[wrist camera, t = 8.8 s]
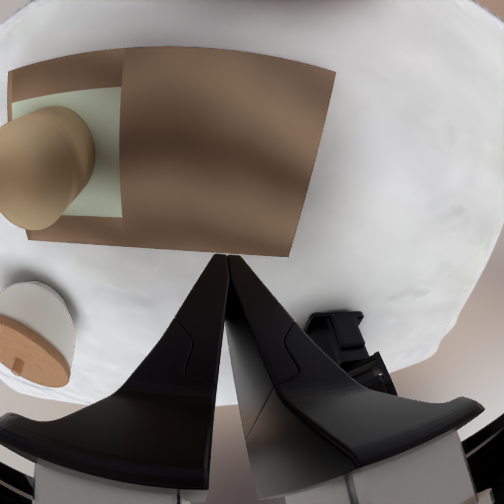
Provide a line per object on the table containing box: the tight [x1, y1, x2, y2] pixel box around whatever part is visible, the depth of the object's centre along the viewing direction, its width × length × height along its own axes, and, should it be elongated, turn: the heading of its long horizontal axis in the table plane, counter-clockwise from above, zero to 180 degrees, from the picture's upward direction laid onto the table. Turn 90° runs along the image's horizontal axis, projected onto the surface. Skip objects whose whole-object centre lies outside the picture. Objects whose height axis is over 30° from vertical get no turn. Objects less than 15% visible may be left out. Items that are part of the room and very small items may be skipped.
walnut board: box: [7, 46, 336, 257], centre depth 16 cm, size 14×22×1 cm, turn 80°
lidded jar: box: [0, 281, 75, 388], centre depth 20 cm, size 11×11×9 cm
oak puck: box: [0, 106, 95, 230], centre depth 13 cm, size 7×7×4 cm
